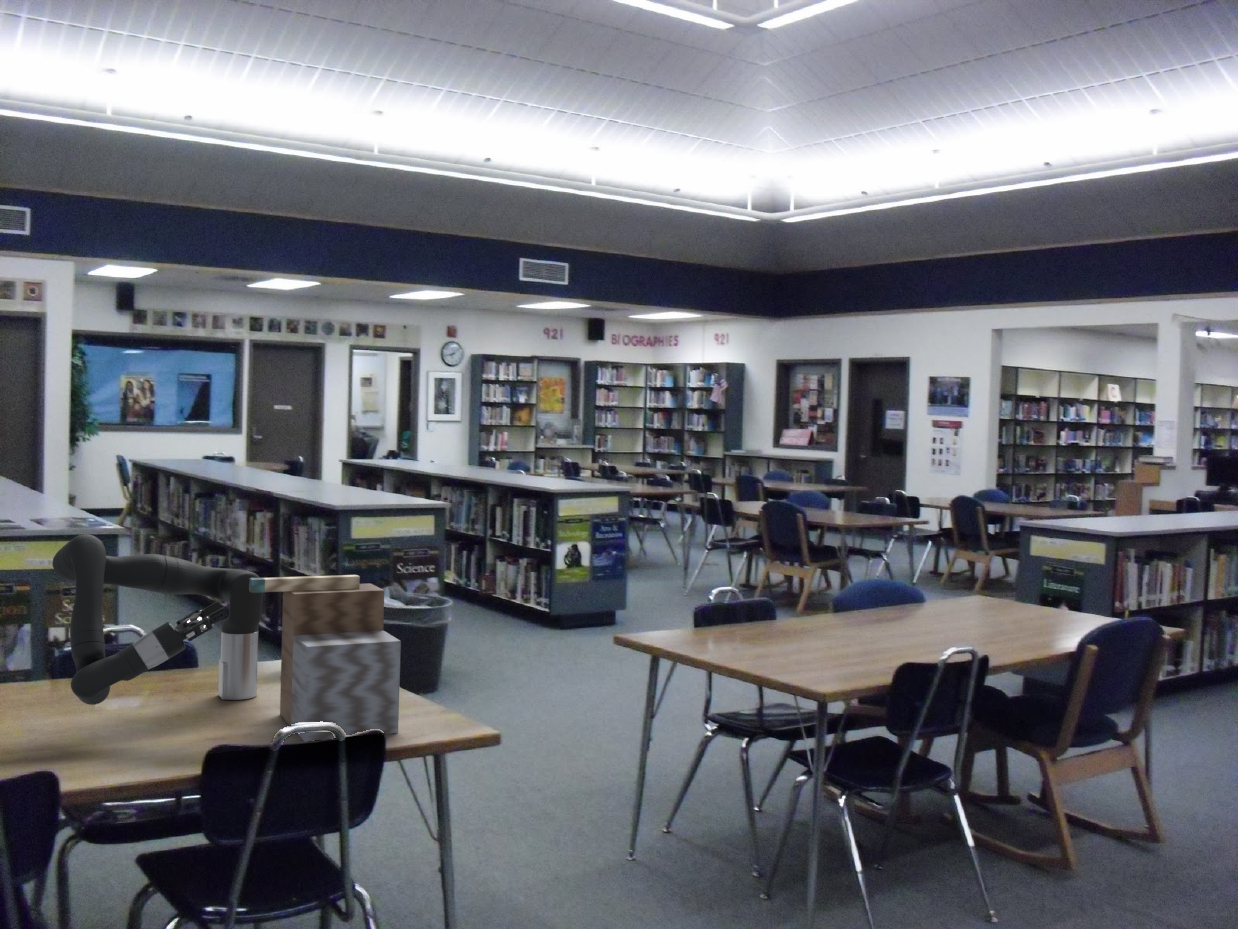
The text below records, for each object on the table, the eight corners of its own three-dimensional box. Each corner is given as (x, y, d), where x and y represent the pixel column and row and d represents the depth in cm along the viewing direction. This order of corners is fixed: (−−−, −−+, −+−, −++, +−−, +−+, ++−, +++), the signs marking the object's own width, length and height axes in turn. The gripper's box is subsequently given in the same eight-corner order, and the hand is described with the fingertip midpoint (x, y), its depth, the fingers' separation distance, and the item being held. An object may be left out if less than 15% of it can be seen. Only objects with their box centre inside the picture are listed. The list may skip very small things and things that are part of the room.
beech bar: (251, 592, 273) (252, 579, 273) (249, 590, 276) (249, 578, 276) (359, 588, 285) (359, 576, 285) (356, 586, 288) (356, 574, 288)
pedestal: (304, 742, 262) (308, 603, 261) (279, 714, 285) (283, 586, 284) (398, 732, 273) (402, 599, 272) (366, 706, 296) (370, 583, 294)
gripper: (154, 638, 258) (220, 599, 264) (146, 626, 270) (210, 590, 277) (171, 665, 260) (236, 626, 266) (163, 653, 272) (225, 616, 279)
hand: (223, 607), depth 271 cm, fingers open, 8 cm apart
